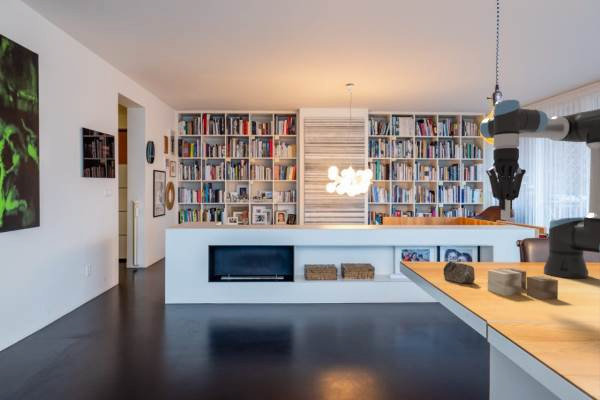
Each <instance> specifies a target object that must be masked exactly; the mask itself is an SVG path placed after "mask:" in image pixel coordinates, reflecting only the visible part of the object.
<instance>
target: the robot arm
mask: <svg viewBox="0 0 600 400" xmlns="http://www.w3.org/2000/svg"><path fill="white" fill-rule="evenodd" d="M492 115H493V116H491V117H488V118H485V119H483V120H482V121H481V123H480V125H479V132H480V134H481V136H482V137H483V138H486V139H493V164H492V167H491V168H488V169H486V171H485V172H486V174H487V175H488V176H487V177H488V178H489V183H490V188H491V194H492V197H493V198H494V199H496V200H497V201H498V209H499V211H500V220H501V221H511V211H512V209H513V201H515V199H518V198H519V196H520V191H521V186H522V183H523V178H524V175H525V174H526V173H527V170H526V169H523V168H521V167H520V164H519V159H520V149H519V147H520V138H528V139H529V138H533V139H536V138H537V139H538V138H539V139H542V138H543V139H550V140H551V141H553V142H555V141H556V142H569V143H570V142H572V143H585V146H586V147H587V148H588V149H590V161H589V162H590V164H589V167H590V168H589V169H590V170H589V199H588V200H589V201H588V204H589V205H588V213H587V214H585V215H584V216H583V217H581V216H579V217H577V216H576V217H561V218H558V217H557V218H552V219H551V220H550V221H549V225H548V226H549V228H548V255H547V258H546V261H545V264H544V266H543V273H544V274H545V275H549V276H553V277H558V278H559V277H560V278H569V279H584V278H585V279H587V278H589V270H588V269H587V265H586V261H585V258H584V252H590V253H596V254H600V108H598V109H592V110H588V111H581V112H576V113H573V114H568V115H563V116H561V115H558V116H557V115H556V116H553V117H552V118H550V117H548V115H547V114H546V112H545V111H542V110H538V109H530V108H529V109H528V108H521V105H520V101H519V100H517V99H504V100H499V101H497V102H496V103H495V104H494V107H493V114H492Z"/></svg>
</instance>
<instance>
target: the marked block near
mask: <svg viewBox="0 0 600 400" xmlns="http://www.w3.org/2000/svg"><path fill="white" fill-rule="evenodd" d="M505 269H506V270H510V271H515V272H519V273H522V279H521V290H525V289H526V290H527V271H526V270H522V269H518V268H514V267H512V268H509V267H508V268H505Z"/></svg>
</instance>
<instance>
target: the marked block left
mask: <svg viewBox="0 0 600 400" xmlns="http://www.w3.org/2000/svg"><path fill="white" fill-rule="evenodd" d="M558 284H559V281H558V279H555V278H551V277H547V276H544V275H542V276H538V275H537V276H536V275H535V276H526V290H525V291H526V296H528V297H531V298H534V299H536V300H539V301H543V300H545V301H546V300H547V301H549V300H551V301H552V300H558V297H559V293H558V292H559V291H558V290H559V289H558V288H559V285H558Z"/></svg>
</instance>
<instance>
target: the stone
mask: <svg viewBox="0 0 600 400" xmlns="http://www.w3.org/2000/svg"><path fill="white" fill-rule="evenodd" d="M475 276H476V275H475V269H474V266H472V265H470V264H466V263H462V262H456V261H453V260H450V261H449V262H447V263H446V264H445V266H444V268H443V278H444V280H447V281H450V282H455V283H459V284H465V283H467V284H473V283H474V282H475V279H476V277H475Z"/></svg>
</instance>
